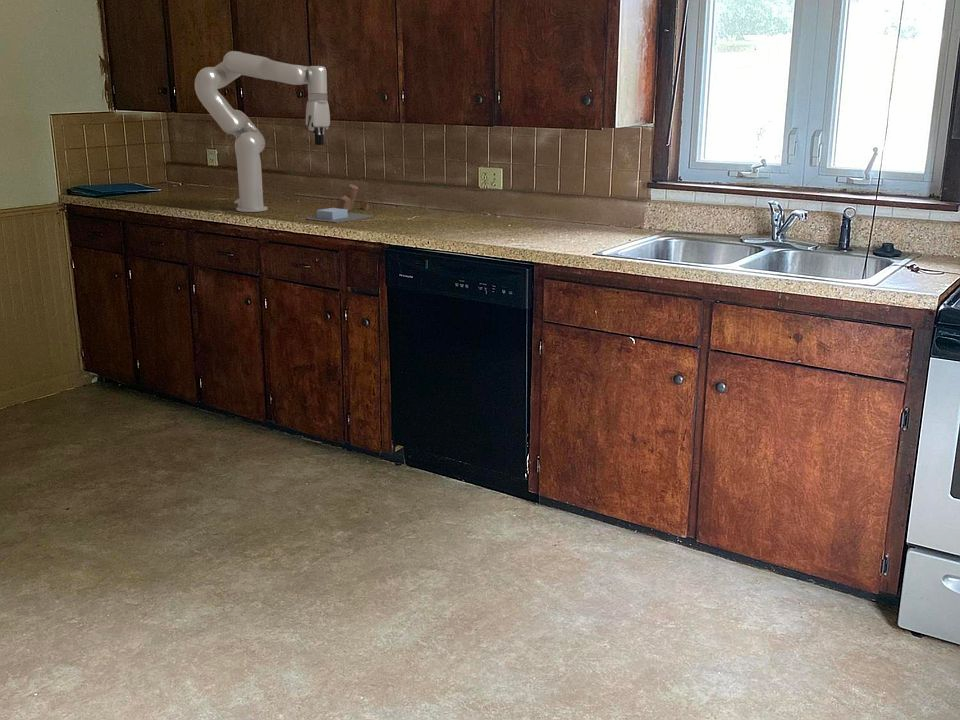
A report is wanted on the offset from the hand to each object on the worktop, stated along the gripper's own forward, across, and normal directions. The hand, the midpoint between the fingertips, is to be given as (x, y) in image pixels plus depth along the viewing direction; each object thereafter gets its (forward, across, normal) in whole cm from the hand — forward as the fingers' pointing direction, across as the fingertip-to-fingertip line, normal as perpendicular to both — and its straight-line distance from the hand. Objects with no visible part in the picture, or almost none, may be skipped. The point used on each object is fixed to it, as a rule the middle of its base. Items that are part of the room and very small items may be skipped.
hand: (319, 144), depth 386 cm
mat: (+27, +11, +19) cm, 35 cm away
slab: (+25, +9, +18) cm, 32 cm away
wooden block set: (+27, -8, +8) cm, 30 cm away
